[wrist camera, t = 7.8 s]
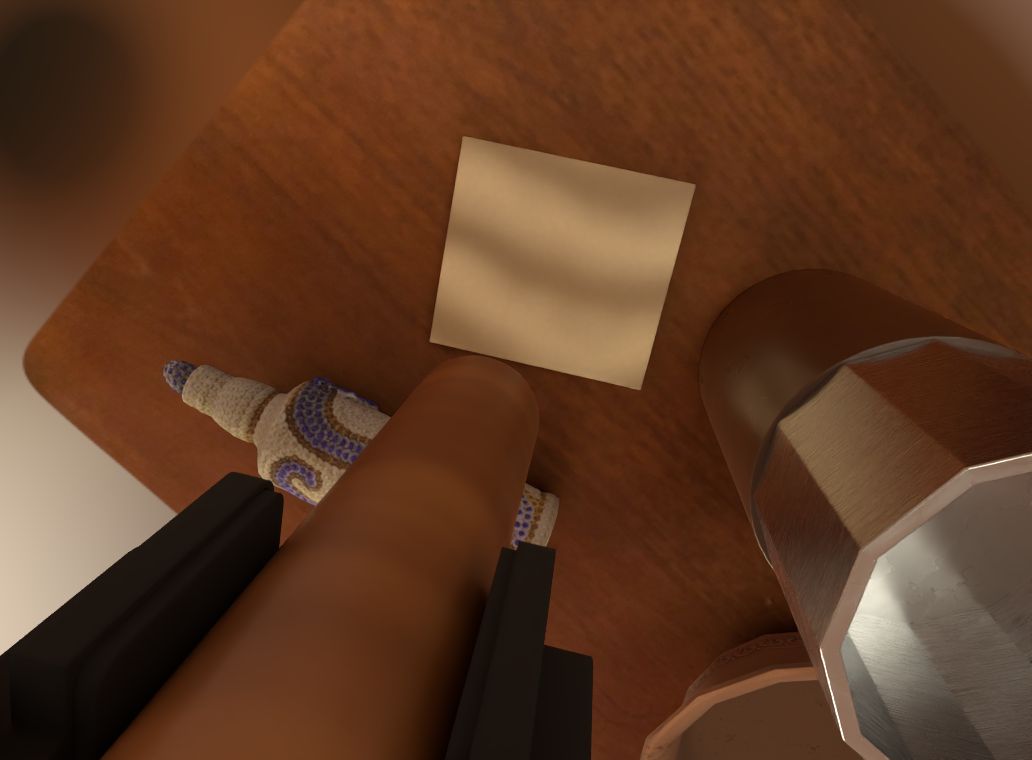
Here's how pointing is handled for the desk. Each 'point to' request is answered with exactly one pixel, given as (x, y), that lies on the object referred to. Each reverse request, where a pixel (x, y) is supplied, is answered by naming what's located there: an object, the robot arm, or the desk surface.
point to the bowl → (753, 709)
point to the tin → (887, 506)
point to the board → (558, 261)
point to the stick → (364, 595)
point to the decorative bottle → (314, 435)
